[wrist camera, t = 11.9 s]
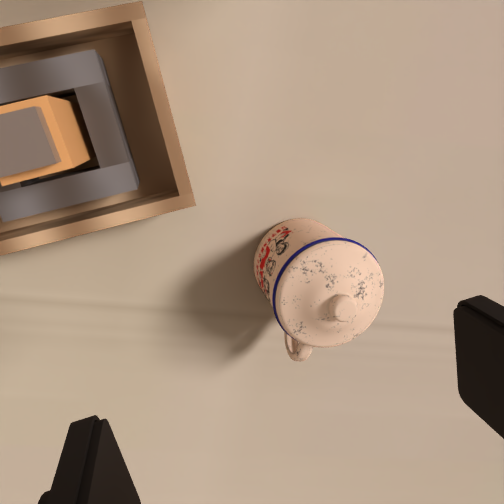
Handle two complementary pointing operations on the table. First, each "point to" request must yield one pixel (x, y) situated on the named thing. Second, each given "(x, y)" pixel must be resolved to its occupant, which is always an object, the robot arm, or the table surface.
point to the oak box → (93, 126)
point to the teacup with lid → (317, 285)
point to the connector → (41, 138)
